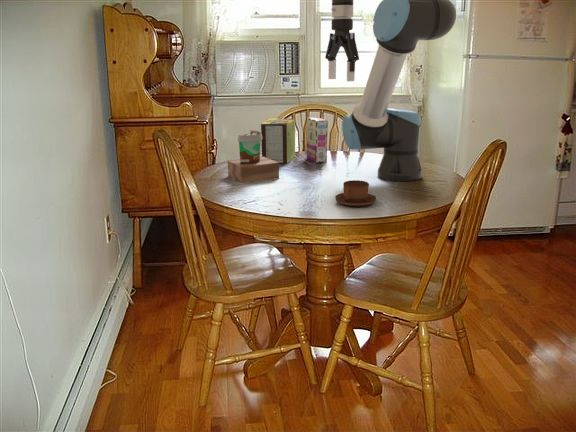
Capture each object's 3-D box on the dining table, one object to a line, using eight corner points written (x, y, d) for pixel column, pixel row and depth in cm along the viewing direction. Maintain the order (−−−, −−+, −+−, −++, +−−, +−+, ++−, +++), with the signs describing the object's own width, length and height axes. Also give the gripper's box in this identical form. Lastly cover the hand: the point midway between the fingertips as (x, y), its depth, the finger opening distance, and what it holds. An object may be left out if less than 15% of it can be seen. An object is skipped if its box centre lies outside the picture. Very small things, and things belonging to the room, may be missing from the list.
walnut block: (279, 179, 199) (278, 162, 197) (242, 184, 193) (241, 167, 191) (263, 172, 209) (263, 156, 207) (228, 177, 203) (227, 160, 201)
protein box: (295, 156, 236) (295, 118, 232) (287, 164, 222) (287, 123, 217) (270, 155, 238) (270, 117, 234) (261, 163, 224) (260, 123, 219)
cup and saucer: (373, 210, 162) (374, 189, 160) (331, 207, 165) (331, 187, 163) (378, 199, 173) (379, 179, 171) (339, 197, 176) (339, 177, 174)
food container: (255, 166, 192) (255, 136, 189) (238, 165, 194) (237, 135, 191) (268, 158, 204) (267, 130, 201) (251, 157, 205) (251, 130, 202)
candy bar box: (327, 162, 224) (328, 120, 219) (315, 163, 222) (316, 121, 218) (317, 157, 234) (318, 116, 229) (306, 158, 233) (306, 117, 228)
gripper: (316, 19, 212) (316, 78, 218) (350, 17, 190) (349, 82, 196) (334, 19, 215) (333, 77, 221) (370, 17, 193) (368, 81, 199)
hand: (341, 80), depth 209 cm, fingers open, 13 cm apart
